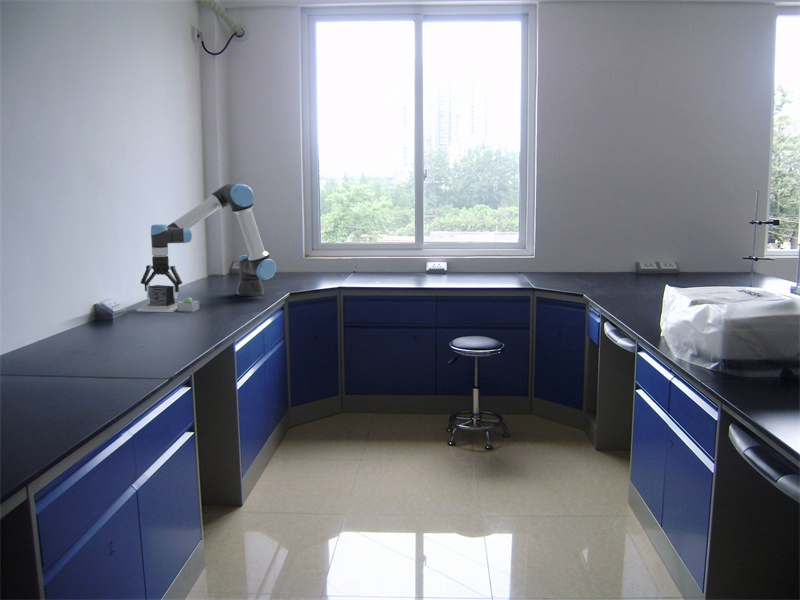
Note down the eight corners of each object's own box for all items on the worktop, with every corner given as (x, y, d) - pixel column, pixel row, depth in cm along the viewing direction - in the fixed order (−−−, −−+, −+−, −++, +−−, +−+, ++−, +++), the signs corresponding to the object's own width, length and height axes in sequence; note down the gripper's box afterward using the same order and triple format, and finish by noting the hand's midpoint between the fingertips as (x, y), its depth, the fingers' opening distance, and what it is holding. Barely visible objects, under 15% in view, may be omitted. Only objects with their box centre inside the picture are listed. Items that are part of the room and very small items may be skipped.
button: (193, 305, 311) (192, 297, 311) (190, 306, 308) (190, 298, 307) (186, 305, 312) (185, 297, 311) (183, 306, 308) (183, 298, 307)
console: (199, 308, 314) (199, 300, 313) (193, 311, 306) (193, 303, 305) (183, 308, 314) (183, 300, 314) (177, 311, 306) (177, 303, 306)
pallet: (187, 305, 321) (187, 301, 321) (172, 312, 303) (172, 307, 303) (153, 304, 322) (152, 300, 322) (136, 311, 304) (136, 306, 304)
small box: (175, 306, 314) (174, 285, 312) (167, 308, 308) (166, 287, 306) (158, 304, 317) (157, 284, 316) (149, 306, 311) (148, 286, 310)
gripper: (187, 255, 311) (189, 297, 315) (139, 254, 313) (141, 296, 316) (181, 257, 304) (183, 299, 308) (132, 256, 305) (134, 298, 309)
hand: (162, 298), depth 312 cm, fingers open, 13 cm apart
